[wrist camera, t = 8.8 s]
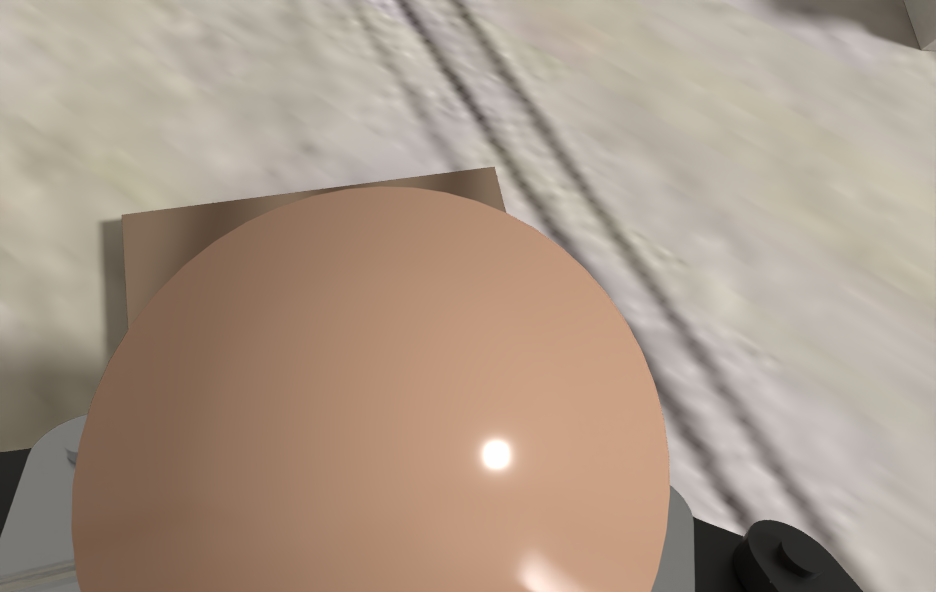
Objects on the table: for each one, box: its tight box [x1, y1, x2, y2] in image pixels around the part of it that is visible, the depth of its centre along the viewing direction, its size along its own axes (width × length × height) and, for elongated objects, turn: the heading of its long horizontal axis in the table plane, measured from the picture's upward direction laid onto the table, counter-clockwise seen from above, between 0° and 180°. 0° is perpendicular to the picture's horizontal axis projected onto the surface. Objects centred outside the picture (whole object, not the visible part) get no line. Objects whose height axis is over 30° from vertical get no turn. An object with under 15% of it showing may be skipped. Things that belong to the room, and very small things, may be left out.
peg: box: [71, 186, 670, 592], centre depth 10 cm, size 6×6×10 cm
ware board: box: [122, 167, 506, 330], centre depth 26 cm, size 20×16×2 cm
